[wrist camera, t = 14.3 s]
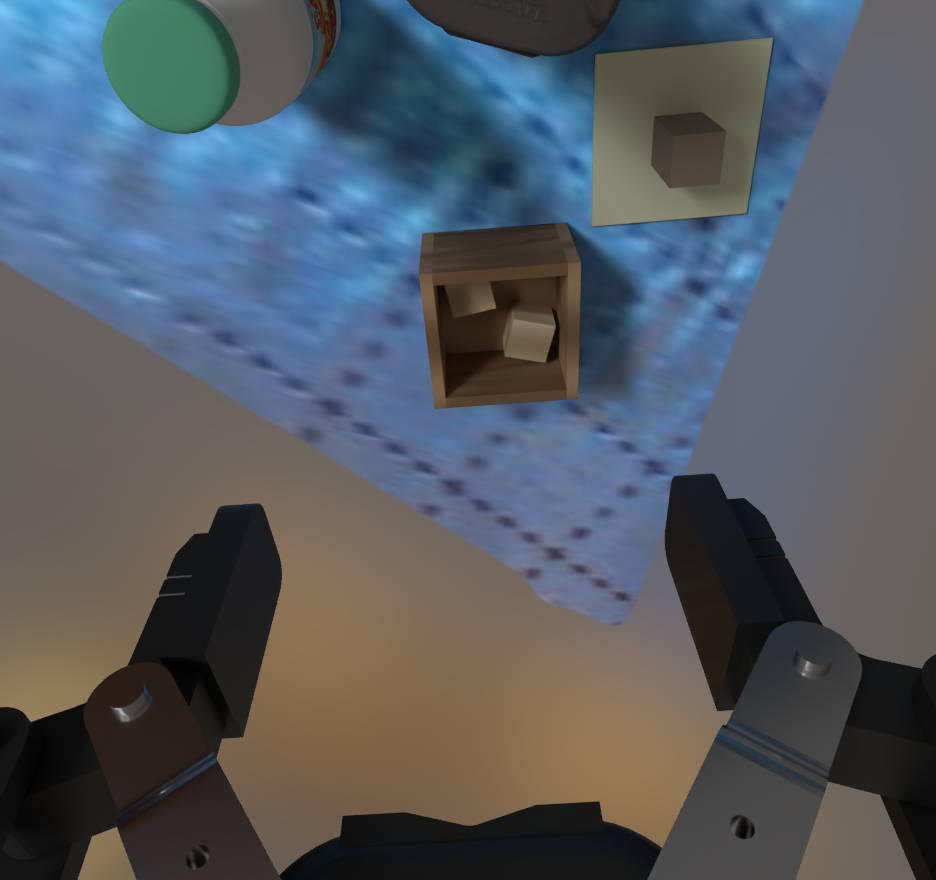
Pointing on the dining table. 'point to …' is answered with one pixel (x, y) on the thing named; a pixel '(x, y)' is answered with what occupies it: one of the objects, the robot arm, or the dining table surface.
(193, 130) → the milk bottle
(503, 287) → the box
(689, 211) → the lid
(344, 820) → the robot arm
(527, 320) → the maple block
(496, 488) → the dining table surface
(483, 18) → the coffee jar
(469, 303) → the maple block
